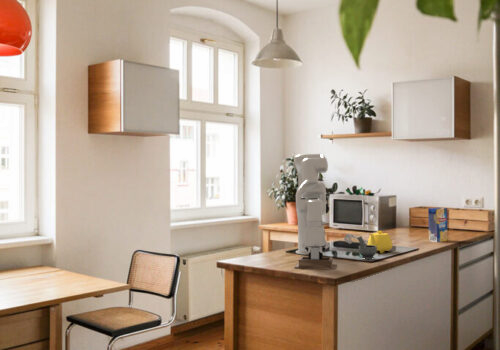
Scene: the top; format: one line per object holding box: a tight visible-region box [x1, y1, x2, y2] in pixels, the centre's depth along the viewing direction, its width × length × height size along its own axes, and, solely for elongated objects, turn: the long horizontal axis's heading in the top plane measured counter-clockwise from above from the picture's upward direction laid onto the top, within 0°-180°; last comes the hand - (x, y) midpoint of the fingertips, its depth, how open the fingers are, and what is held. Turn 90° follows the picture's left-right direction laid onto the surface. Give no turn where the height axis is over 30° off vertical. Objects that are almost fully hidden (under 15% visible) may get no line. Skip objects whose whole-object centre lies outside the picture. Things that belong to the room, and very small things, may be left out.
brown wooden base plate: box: [294, 256, 337, 270], centre depth 263 cm, size 12×20×4 cm, turn 77°
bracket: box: [343, 233, 368, 245], centre depth 338 cm, size 3×21×10 cm, turn 50°
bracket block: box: [311, 245, 320, 260], centre depth 263 cm, size 6×4×9 cm, turn 167°
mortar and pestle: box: [356, 236, 378, 259], centre depth 284 cm, size 11×9×12 cm
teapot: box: [366, 230, 393, 254], centre depth 306 cm, size 13×20×12 cm
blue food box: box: [427, 207, 448, 243], centre depth 348 cm, size 7×11×22 cm, turn 124°
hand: (315, 259), depth 263 cm, fingers closed on bracket block, 4 cm apart
